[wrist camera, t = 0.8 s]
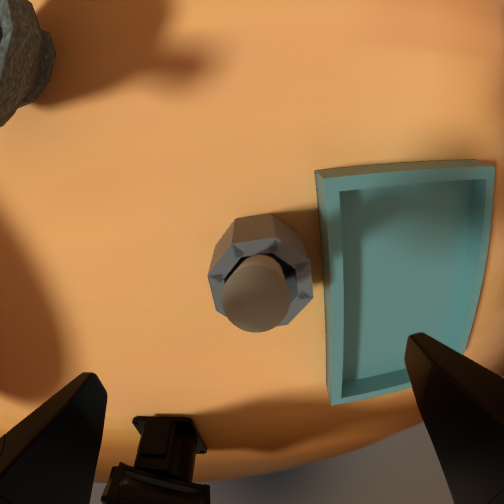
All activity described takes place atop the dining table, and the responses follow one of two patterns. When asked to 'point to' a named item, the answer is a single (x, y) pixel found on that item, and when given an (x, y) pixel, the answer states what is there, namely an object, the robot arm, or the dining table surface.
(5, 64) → the mortar and pestle
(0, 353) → the dining table surface
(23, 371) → the dining table surface
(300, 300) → the grey cup
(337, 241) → the teal tray
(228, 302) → the birch pin
